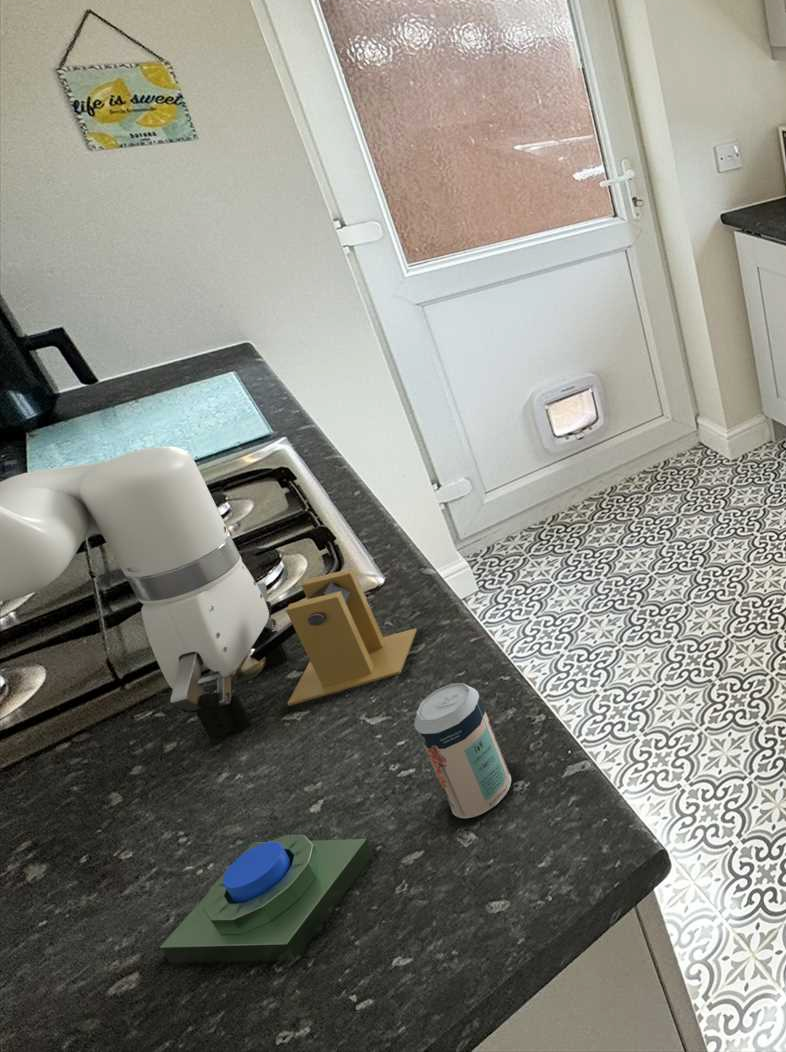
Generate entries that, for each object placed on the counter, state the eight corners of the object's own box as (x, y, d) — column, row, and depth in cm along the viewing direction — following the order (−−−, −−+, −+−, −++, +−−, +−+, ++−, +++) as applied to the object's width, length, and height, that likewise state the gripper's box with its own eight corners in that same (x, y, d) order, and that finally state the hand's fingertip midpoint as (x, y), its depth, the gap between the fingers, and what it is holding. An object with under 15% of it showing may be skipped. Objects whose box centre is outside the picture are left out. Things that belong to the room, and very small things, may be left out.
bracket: (291, 712, 82) (246, 625, 78) (315, 664, 88) (276, 581, 84) (403, 679, 86) (366, 594, 81) (419, 635, 92) (386, 554, 88)
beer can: (462, 782, 74) (422, 687, 69) (518, 766, 75) (482, 672, 71) (445, 829, 69) (401, 732, 65) (505, 812, 71) (466, 715, 66)
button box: (171, 965, 60) (148, 932, 59) (262, 859, 68) (244, 827, 66) (297, 961, 60) (277, 929, 59) (375, 855, 68) (359, 824, 66)
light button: (218, 903, 61) (209, 888, 60) (259, 856, 64) (251, 841, 64) (263, 902, 61) (254, 887, 60) (302, 854, 64) (294, 840, 64)
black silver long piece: (239, 693, 81) (208, 679, 80) (252, 671, 84) (223, 656, 83) (346, 610, 83) (318, 594, 81) (356, 591, 86) (329, 575, 84)
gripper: (182, 527, 84) (245, 650, 90) (80, 639, 69) (163, 777, 75) (269, 509, 86) (324, 629, 92) (189, 612, 71) (261, 748, 77)
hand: (252, 695), depth 83 cm, fingers open, 9 cm apart
